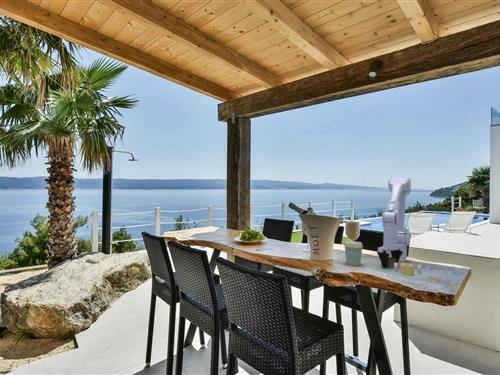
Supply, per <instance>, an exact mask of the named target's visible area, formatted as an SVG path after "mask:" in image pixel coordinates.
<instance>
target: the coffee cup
mask: <svg viewBox="0 0 500 375" xmlns="http://www.w3.org/2000/svg"><path fill="white" fill-rule="evenodd" d="M343 246H344V251H345V263H346V265H348V266H351V267H359V266H360V265H361V260H362V253H363V248H364V245H363V243H362V242H361V241H357V240H355V241H354V240H348V241H345V243H344V245H343Z"/></svg>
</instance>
